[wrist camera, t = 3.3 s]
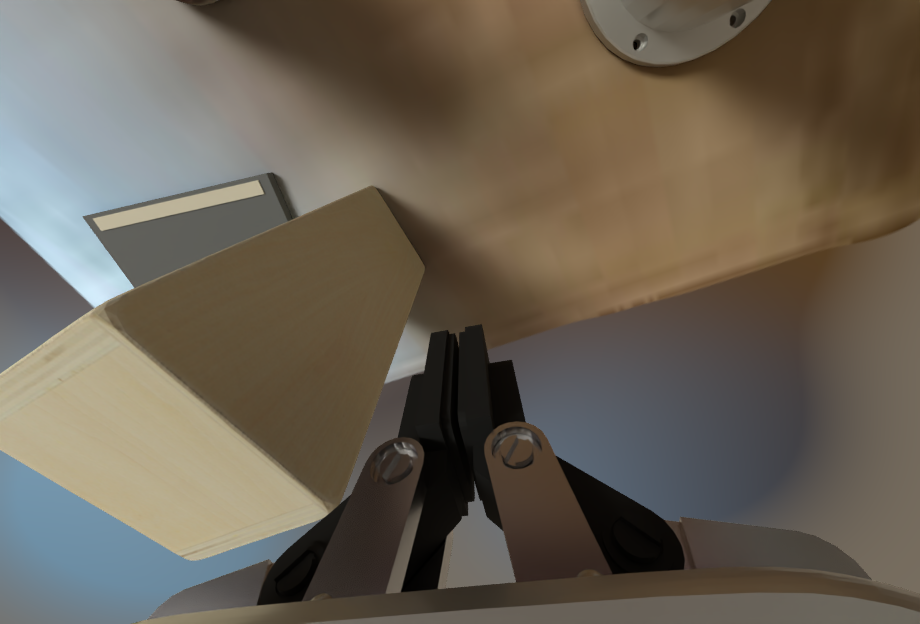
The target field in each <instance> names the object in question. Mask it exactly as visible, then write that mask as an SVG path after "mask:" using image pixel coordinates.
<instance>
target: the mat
mask: <svg viewBox="0 0 920 624" xmlns="http://www.w3.org/2000/svg"><path fill="white" fill-rule="evenodd" d="M83 218H84V219H85V221H86V222H87V224H88V225H89V226H90V228H91V229H92V230H93V232H94V233H95V234H96V236H97V237H98V239H99V240H100V241H101V243H102V244H103V245H104V247H105V248H106V250H107V251H108V252H109V254H110V255H111V256H112V258H113V259H114V260H115V262H116V263H117V265H118V266H119V267H120V269H121V270H122V271H123V273H124V274H125V275H126V277H127V278H128V280H129V281H130V282H131V284H132V285H133V286H134V288H136V287H138V286H140V285H143V284H145V283H147V282H149V281H152V280H154V279H156V278H159V277H161V276H163V275H166V274H168V273H170V272H173V271H175V270H177V269H180V268H182V267H184V266H187V265H189V264H191V263H193V262H196V261H198V260H200V259H202V258H204V257H207V256H209V255H211V254H214V253H216V252H218V251H221V250H223V249H225V248H228V247H230V246H232V245H235V244H237V243H239V242H242V241H244V240H246V239H249V238H251V237H253V236H256V235H258V234H260V233H263V232H265V231H267V230H270V229H272V228H274V227H276V226H279V225H281V224H283V223H286V222H288V221H290V220H293V219H292V217H291V214H290V212H289V210H288V208H287V205H286V203H285V201H284V198H283V196H282V194H281V192H280V189H279V187H278V185H277V182H276V180H275V178H274V176H273V173H266V174H262V175H258V176H253V177H249V178H245V179H241V180H236V181H232V182H228V183H224V184H219V185H215V186H211V187H206V188H202V189H198V190H194V191H189V192H185V193H181V194H177V195H172V196H168V197H164V198H159V199H155V200H151V201H147V202H142V203H138V204H134V205H130V206H125V207H121V208H117V209H113V210H108V211H104V212H100V213H95V214H91V215H87V216H83Z"/></svg>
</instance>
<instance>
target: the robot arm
mask: <svg viewBox="0 0 920 624" xmlns="http://www.w3.org/2000/svg"><path fill="white" fill-rule="evenodd" d="M771 1H772V0H580V2H581V5H582V8H583V12H584V15H585V17H586V19H587V20H588V22H589V24H590V26H591V28H592V30H593V32H594V33H595V35H596V36H597V37H598V38H599V39H600V40H601V42H602V43H603V44H604V45H605V46H606V47H607V49H609V50H610V51H612V52H613V53H615V54H616V55H617V56H619V57H620V58H622V59H623V60H626V61H629V62H632V63H634V64H637V65H640V66H650V67H664V66H672V65H678V64H681V63H684V62H687V61H690V60H694V59H696V58H698V57H701V56H703V55H705V54H707V53H709V52H712V51H714V50H716V49H717V48H719V47H720V46H722V45H723V44H725V43H726V42H728V41H729V40H731V39H732V38H734V37H735V36H737V35H738V34H739V33H740V32H741V31H742V30H743V29H745V28H746V27H747V26H748V25H749V24H750V23H751V22H752V21H754V20H755V19H756V18H757V17H758V16H759V14H760V13H761V12H762V11H763V10H764V9H765V8H766V6H767V5H768V4H769V3H770V2H771ZM730 22H731V23H730ZM633 41H636V42H637V49H636V50H634V49H633ZM474 481H475V484H476V488H477V492H478V495H479V499H480V500H482V501H483V505H484V509H485V512H486V516H487V517H488V518H489V519H490V520H491V521H492V522H493V523H495V524H496V525H497V526H498V527H499V528H500V529H502V530H503V531H504V535H505V539H506V543H507V548H508V551H509V556H510V560H511V564H512V568H513V572H514V576H515V580H516V583H505V584H492V585H482V586H469V587H458V588H448V589H447V588H446V582H447V576H448V570H449V563H450V557H451V551H452V545H453V529H454V527H455V526H456V525H457V524H458V523H459V522H460V521H461V519H462V516H468V502H472V501H474V499H475V497H474V496H475V492H474ZM445 588H446V589H445ZM133 624H920V594H919V593H916V592H912V591H909V590H906V589H903V588H899V587H896V586H893V585H890V584H886V583H881V582H877V581H873V580H872V579H871V578H870V577H869V576H868V575H867V573H866V572H865V571H864V570H863V569H862V568H861V567H860V566H859V565H858V563H857V562H856V561H855V560H854V559H852V558H851V557H850V556H848V555H847V554H845V553H844V552H843V551H842V550H840V549H839V548H838V547H836V546H834V545H832V544H831V543H829V542H827V541H824V540H822V539H821V538H819V537H816V536H814V535H810V534H806V533H802V532H799V531H792V530H784V529H776V528H768V527H760V526H752V525H743V524H735V523H727V522H718V521H711V520H702V519H694V518H686V517H680V521H679V522H676V521H668V520H663V519H662V518H660V517H659V516H658V515H656V514H655V513H654V512H652V511H651V510H649V509H647V508H645V507H644V506H642V505H640V504H639V503H637V502H635V501H634V500H632V499H630V498H628V497H627V496H625V495H623V494H621V493H620V492H618V491H616V490H614V489H613V488H611V487H609V486H607V485H606V484H604V483H602V482H601V481H599V480H597V479H595V478H594V477H592V476H590V475H588V474H587V473H585V472H583V471H581V470H580V469H578V468H576V467H574V466H573V465H571V464H569V463H568V462H566V461H564V460H562V459H561V458H559V457H557V456H555V454H554V452H553V450H552V448H551V446H550V444H549V442H548V439H547V438H546V437H545V435H544V433H543V432H542V431H541V430H540V429H538V428H537V427H536V426H534V425H531V424H529V423H526V422H525V417H524V413H523V408H522V403H521V399H520V394H519V390H518V386H517V381H516V377H515V372H514V367H513V363H512V360H507V361H501V362H495V363H489V358H488V353H487V348H486V343H485V338H484V333H483V328H482V324H481V325H475V326H469V327H465V332H460V334H459V346H458V342H457V338H456V335H455V333H454V334H449V331H448V330H446V331H440V332H434V333H431V337H430V342H429V348H428V354H427V359H426V365H425V371H424V374H419V375H414V376H412V378H411V381H410V386H409V390H408V395H407V399H406V404H405V408H404V413H403V417H402V421H401V426H400V430H399V435H398V438H394V439H392V440H389V441H387V442H385V443H383V444H382V445H380V446H379V447H378V448H377V449H376V450H375V451H374V452H373V453H372V454H371V455H370V457H369V458H368V460H367V462H366V463H365V466H364V468H363V470H362V472H361V474H360V476H359V479H358V481H357V483H356V485H355V487H354V489H353V492H352V494H351V495H350V496H349V497H348V498H347V499H346V500H344V501H343V502H342V503H341V504H340V505H338V506H337V507H336V508H335V509H334V510H333V511H331V512H330V513H329V514H328V515H327V516H326V517H324V518H323V519H322V520H321V521H320V522H319V523H317V524H316V525H315V526H314V527H313V528H312V529H310V530H309V531H308V532H307V533H306V534H305V535H303V536H302V537H301V538H300V539H299V540H298V541H297V542H295V543H294V544H293V545H292V546H291V547H290V548H288V549H287V550H286V551H285V552H284V553H283V554H282V555H281V556H280V557H279V558H278V559H277V561H276V562H275V563H272V562H271V561H270V560H269V559H268V560H265V561H263V562H260V563H257V564H254V565H252V566H249V567H246V568H243V569H240V570H238V571H235V572H232V573H229V574H226V575H223V576H221V577H218V578H215V579H212V580H210V581H207V582H204V583H201V584H198V585H196V586H193V587H190V588H187V589H185V590H183V591H181V592H179V593H177V594H175V595H173V596H171V597H170V598H169V599H168V600H167V601H165V602H164V603H163V604H162V605H161V606H159V607H158V608H157V609H156V611H155V612H154V613H153V614H152V615H151V616H150V617H149V618H148V619H147V620H144V621H140V622H136V623H133Z"/></svg>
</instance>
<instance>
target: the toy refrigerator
mask: <svg viewBox="0 0 920 624" xmlns="http://www.w3.org/2000/svg"><path fill="white" fill-rule="evenodd" d="M424 272H425V266H424V264H423V262H422V261H421V259H420V257H419V256H418V254H417V253H416V251H415V249H414V248H413V246H412V244H411V243H410V241H409V240H408V238H407V236H406V235H405V233H404V232H403V230H402V229H401V227H400V225H399V224H398V222H397V221H396V219H395V217H394V216H393V214H392V213H391V211H390V209H389V208H388V206H387V205H386V203H385V201H384V200H383V198H382V197H381V195H380V194H379V192H378V191H377V189H376V188H375V187H374V186H369V187H367V188H364V189H362V190H360V191H357V192H355V193H353V194H350V195H348V196H346V197H343V198H341V199H339V200H336V201H334V202H332V203H330V204H327V205H325V206H323V207H320V208H318V209H315V210H313V211H311V212H309V213H307V214H304V215H302V216H300V217H297V218H295V219H293V220H290V221H288V222H286V223H283V224H281V225H279V226H276V227H274V228H272V229H270V230H267V231H265V232H263V233H260V234H258V235H256V236H253V237H251V238H249V239H246V240H244V241H242V242H239V243H237V244H235V245H232V246H230V247H228V248H225V249H223V250H221V251H218V252H216V253H214V254H211V255H209V256H207V257H204V258H202V259H200V260H198V261H196V262H193V263H191V264H189V265H187V266H184V267H182V268H180V269H177V270H175V271H173V272H170V273H168V274H166V275H163V276H161V277H159V278H156V279H154V280H152V281H149V282H147V283H145V284H143V285H140V286H138V287H136V288H134V289H131V290H129V291H127V292H125V293H123V294H121V295H118V296H116V297H114V298H112V299H110V300H108V301H106V302H104V303H103V304H101V305H99V306H98V307H96V308H94V309H93V310H92V311H90V312H88V313H87V314H85V315H84V316H82V317H81V318H79V319H78V320H76V321H75V322H73V323H72V324H70V325H69V326H67V327H66V328H65V329H63V330H62V331H60V332H59V333H57V334H56V335H54V336H53V337H52V338H50V339H49V340H47V341H46V342H45V343H43V344H42V345H41V346H39V347H38V348H37V349H35V350H34V351H32V352H31V353H29V354H28V355H27V356H25V357H24V358H22V359H21V360H19V361H18V362H16V363H15V364H14V365H12V366H11V367H9V368H8V369H7V370H5V371H4V372H2V373H1V374H0V450H1V451H3V452H5V453H6V454H8V455H10V456H12V457H13V458H15V459H17V460H18V461H20V462H22V463H23V464H25V465H27V466H29V467H30V468H32V469H33V470H35V471H37V472H39V473H40V474H42V475H44V476H45V477H47V478H49V479H51V480H52V481H54V482H55V483H57V484H59V485H61V486H62V487H64V488H65V489H67V490H69V491H71V492H72V493H74V494H76V495H77V496H79V497H81V498H83V499H84V500H86V501H88V502H89V503H91V504H93V505H94V506H96V507H98V508H100V509H101V510H103V511H105V512H107V513H108V514H110V515H112V516H113V517H115V518H117V519H118V520H120V521H122V522H124V523H125V524H127V525H129V526H130V527H132V528H134V529H135V530H137V531H139V532H140V533H142V534H144V535H146V536H147V537H149V538H150V539H152V540H154V541H156V542H157V543H159V544H160V545H162V546H164V547H166V548H167V549H169V550H170V551H172V552H174V553H175V554H178V555H179V556H181V557H183V558H185V559H188V560H200V559H204V558H208V557H211V556H214V555H216V554H219V553H222V552H225V551H228V550H231V549H234V548H237V547H240V546H242V545H246V544H248V543H251V542H255V541H257V540H261V539H264V538H267V537H270V536H273V535H275V534H278V533H281V532H284V531H287V530H290V529H294V528H297V527H300V526H302V525H306V524H309V523H312V522H315V521H317V520H320V519H323V518H324V517H326V516H327V515H328V514H329V513H330V512H331V511H333V510H334V509H335V508H336V507H337V506H338V505H339V504H340V502H341V500H342V497H343V495H344V492H345V489H346V487H347V484H348V482H349V479H350V476H351V474H352V471H353V468H354V465H355V463H356V460H357V457H358V454H359V451H360V449H361V446H362V443H363V440H364V438H365V435H366V432H367V429H368V427H369V424H370V421H371V418H372V415H373V413H374V410H375V407H376V405H377V402H378V399H379V396H380V393H381V390H382V387H383V385H384V382H385V379H386V376H387V374H388V371H389V368H390V365H391V363H392V360H393V357H394V354H395V352H396V349H397V346H398V343H399V341H400V338H401V335H402V333H403V330H404V327H405V324H406V322H407V319H408V316H409V313H410V311H411V308H412V305H413V302H414V299H415V297H416V294H417V291H418V289H419V286H420V283H421V280H422V277H423V275H424Z"/></svg>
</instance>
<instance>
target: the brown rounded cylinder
mask: <svg viewBox="0 0 920 624" xmlns="http://www.w3.org/2000/svg"><path fill="white" fill-rule="evenodd" d="M176 1H180V2H183V3H187V4H192V5H199V6H201V5H206V4H212V3H214V2H216V1H220V0H176Z"/></svg>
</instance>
